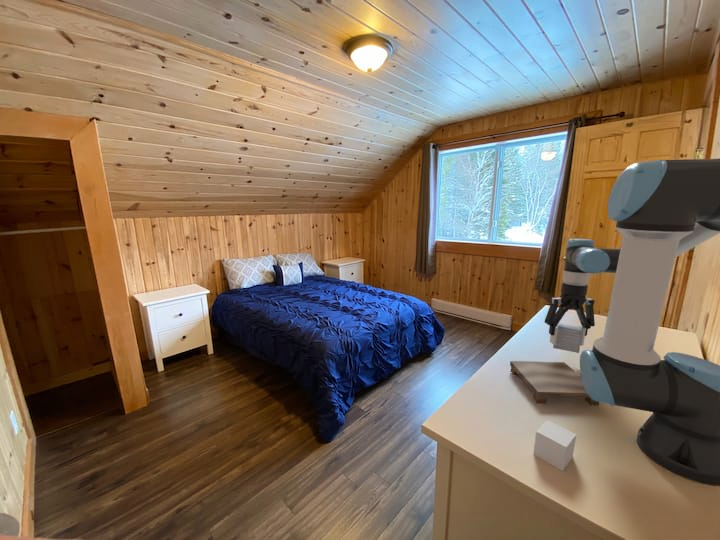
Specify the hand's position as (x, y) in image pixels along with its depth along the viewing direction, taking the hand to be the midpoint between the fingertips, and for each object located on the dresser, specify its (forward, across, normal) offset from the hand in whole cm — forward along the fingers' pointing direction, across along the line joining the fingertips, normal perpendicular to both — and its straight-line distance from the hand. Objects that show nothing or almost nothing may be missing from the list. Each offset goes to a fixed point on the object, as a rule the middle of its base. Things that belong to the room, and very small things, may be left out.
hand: (566, 343), depth 111 cm
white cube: (+9, +29, +44) cm, 54 cm away
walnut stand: (+8, +14, +16) cm, 23 cm away
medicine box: (+2, 0, 0) cm, 2 cm away
